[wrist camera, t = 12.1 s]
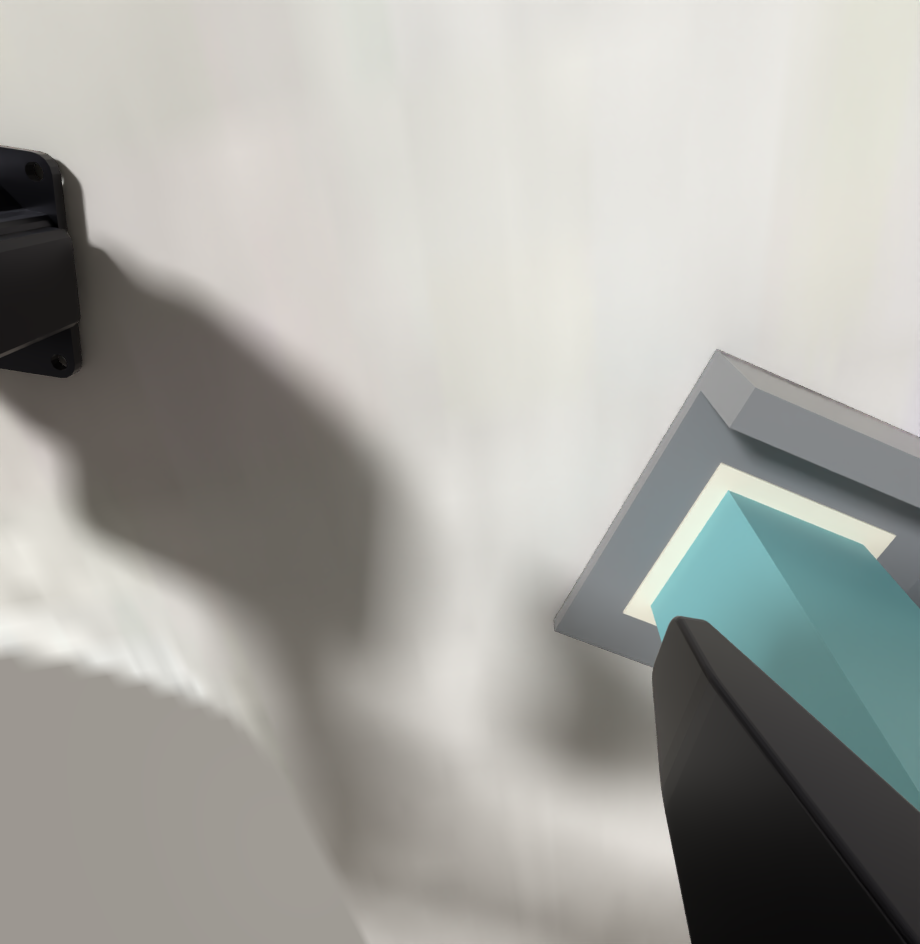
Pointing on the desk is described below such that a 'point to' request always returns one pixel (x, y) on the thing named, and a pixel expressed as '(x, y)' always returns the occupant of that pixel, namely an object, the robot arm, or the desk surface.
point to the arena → (747, 494)
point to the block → (811, 626)
